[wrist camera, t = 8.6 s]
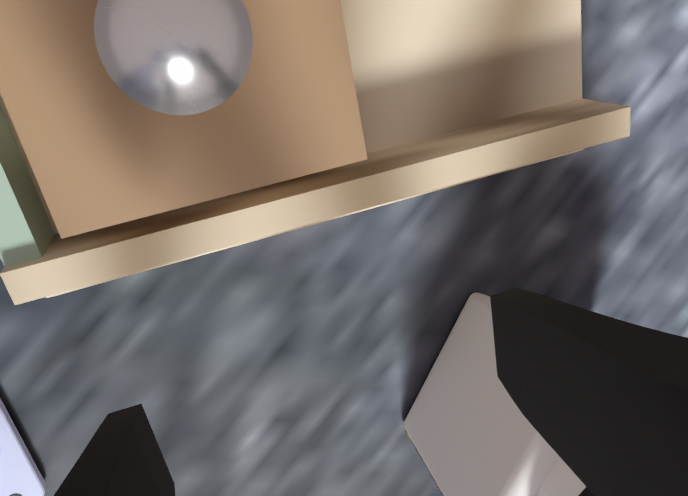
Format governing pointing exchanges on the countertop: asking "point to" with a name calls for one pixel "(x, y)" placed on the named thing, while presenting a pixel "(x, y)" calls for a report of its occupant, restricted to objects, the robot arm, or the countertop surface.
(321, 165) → the block with knob
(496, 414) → the medicine bottle
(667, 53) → the countertop surface
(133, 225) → the bay
